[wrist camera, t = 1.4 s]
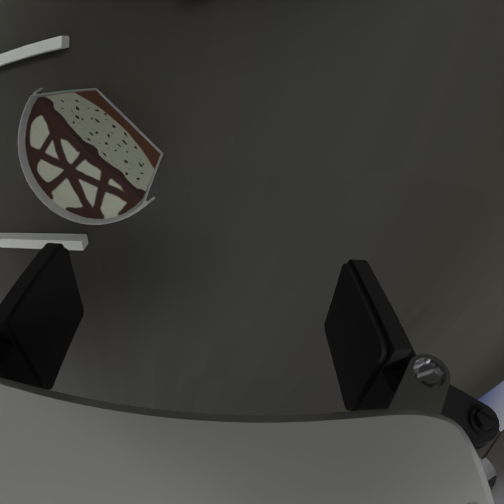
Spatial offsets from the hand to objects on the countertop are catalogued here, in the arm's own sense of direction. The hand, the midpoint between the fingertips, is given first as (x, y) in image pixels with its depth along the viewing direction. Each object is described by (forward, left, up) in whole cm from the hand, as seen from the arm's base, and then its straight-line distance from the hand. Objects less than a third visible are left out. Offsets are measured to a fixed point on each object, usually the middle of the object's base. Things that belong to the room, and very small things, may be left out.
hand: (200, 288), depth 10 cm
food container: (+11, 0, -21) cm, 24 cm away
